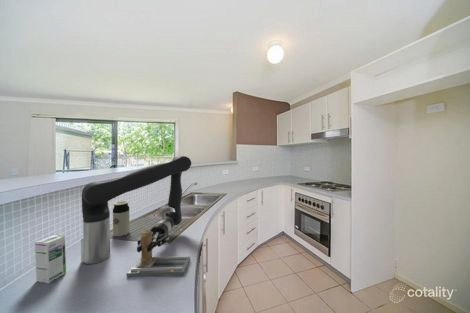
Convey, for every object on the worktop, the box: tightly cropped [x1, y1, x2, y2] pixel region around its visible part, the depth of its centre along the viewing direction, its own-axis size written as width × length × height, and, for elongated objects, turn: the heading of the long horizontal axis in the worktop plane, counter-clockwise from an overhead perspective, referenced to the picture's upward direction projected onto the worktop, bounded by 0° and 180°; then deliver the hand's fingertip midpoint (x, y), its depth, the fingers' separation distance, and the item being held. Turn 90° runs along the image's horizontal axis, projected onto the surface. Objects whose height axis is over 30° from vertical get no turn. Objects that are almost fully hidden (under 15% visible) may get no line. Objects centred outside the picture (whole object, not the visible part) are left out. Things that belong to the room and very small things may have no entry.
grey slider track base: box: [126, 255, 191, 278], centre depth 71 cm, size 21×10×2 cm, turn 92°
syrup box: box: [34, 234, 67, 284], centre depth 66 cm, size 6×6×14 cm
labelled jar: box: [112, 200, 131, 237], centre depth 102 cm, size 8×8×18 cm
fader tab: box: [137, 230, 157, 268], centre depth 71 cm, size 5×6×13 cm
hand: (143, 249), depth 68 cm, fingers closed on fader tab, 3 cm apart
